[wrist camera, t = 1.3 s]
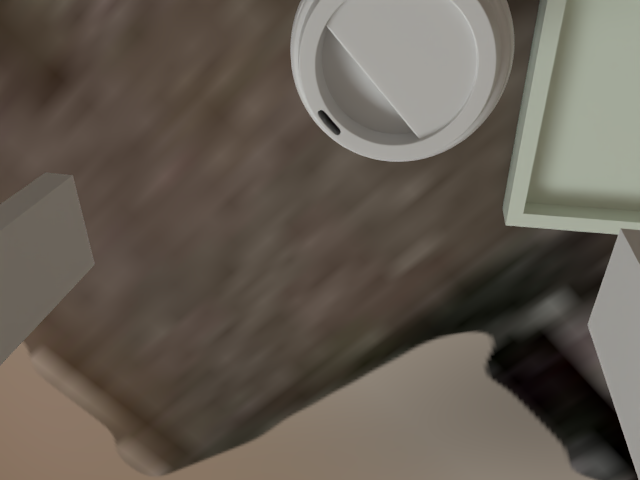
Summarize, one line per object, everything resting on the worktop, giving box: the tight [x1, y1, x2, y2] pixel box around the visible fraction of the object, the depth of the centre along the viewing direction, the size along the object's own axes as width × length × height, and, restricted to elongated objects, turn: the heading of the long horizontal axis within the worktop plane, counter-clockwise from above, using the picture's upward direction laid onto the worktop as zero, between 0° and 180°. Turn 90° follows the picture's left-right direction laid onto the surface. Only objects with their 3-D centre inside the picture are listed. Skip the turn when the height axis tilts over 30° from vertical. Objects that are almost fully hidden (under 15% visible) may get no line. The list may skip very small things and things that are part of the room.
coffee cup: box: [291, 0, 514, 162], centre depth 29 cm, size 10×10×15 cm
